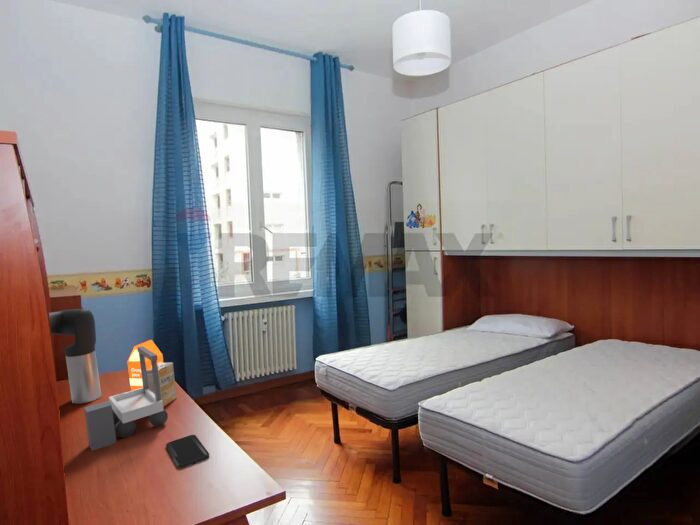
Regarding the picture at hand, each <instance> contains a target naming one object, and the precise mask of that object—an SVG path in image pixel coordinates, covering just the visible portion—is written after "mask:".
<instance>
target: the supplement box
mask: <svg viewBox="0 0 700 525" xmlns="http://www.w3.org/2000/svg"><path fill="white" fill-rule="evenodd" d="M174 371H175V370H174V362H163V363H160V364H158V374H159V382H160V390H161V398H162V402H163V408H164V407H166V406H167V405H168V404H170V403H171V402H172V401H174V400H177V390H176V381H175V380H176V379H175V372H174ZM147 378H148V386H149V390H150V391H152V392H153V393H154V394H155V390H154V382H153V374H152V368H150V369H148V370H147Z"/></svg>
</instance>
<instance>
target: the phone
mask: <svg viewBox="0 0 700 525" xmlns="http://www.w3.org/2000/svg"><path fill="white" fill-rule="evenodd" d="M165 448H166V451H167V452H168V454H169V455H170V457H171V459H172V460H173V463H174V464H175V466H176V468H177V469H183V468H186V467H189V466H192V465H195V464H197V463H201V462H203V461H206V460H208V459H209V458H210V453H209V451H208V450H207V449H206V448H205V446H204V445H203V444H202V442H201V440H199V438H198V437H197V436H196V435H195V434H191V435H190V434H189V435H187V436H183V437H180V438H177V439H174V440H172V441H168V442H167V443H166V444H165Z"/></svg>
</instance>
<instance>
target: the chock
mask: <svg viewBox="0 0 700 525" xmlns="http://www.w3.org/2000/svg"><path fill="white" fill-rule="evenodd" d="M84 416H85V422H86V430H87V437H88V438H87V439H88V444H89V448H90V450H91V452H94V451H97V450H100V449H102V448H105V447H108V446H111V445H114V444H116V443H117V437H116V436H117V435H116V431H115V425H114V420H113V412H112V405H111V404H110V402H109V400H105V401H103V402H99V403H96V404H92V405H88V406H85V407H84ZM93 450H94V451H93Z"/></svg>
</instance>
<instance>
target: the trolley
mask: <svg viewBox="0 0 700 525" xmlns="http://www.w3.org/2000/svg"><path fill="white" fill-rule="evenodd" d="M137 348H138V352H139V358H140V366H141V374H142V382H143V388H139V389H135V390H132V391H131V390H130V391H125V392H122V393H118V394H115V395H111V396H108V401H109V402H110V404H111V405H112V412H113V420H114V428H115V434H117V436H119V437H120V438H124V439H125V437H126V438H128V436H129V437H131V436H132V435H133V434H134V433H135V430H136V428H137V427H136V426H137V425H136V423H135V421H136V420H138V419H141V418H142V419H143V418H145V417H148V422H149V423H150V424H151V425H152V426H153V427H161V426H164V425H165V423H166V422H167V421H168V418H169V416H168V412H167V411H166V410H165V409H164V407H163V402H162V398H161V390H160V382H159V374H158V365H157V360H158V359H157V355H156V354H155V353H153V352H152V351H150V350H148V349H147V348H145V347H144V346H140V347H137ZM145 357H146V358H147V359H149V360H150V361H151V365H152V374H153V382H154V390H155V394H154V393H153V392H152V391H150V390H149V386H148V378H147V370H146V362H145Z"/></svg>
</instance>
